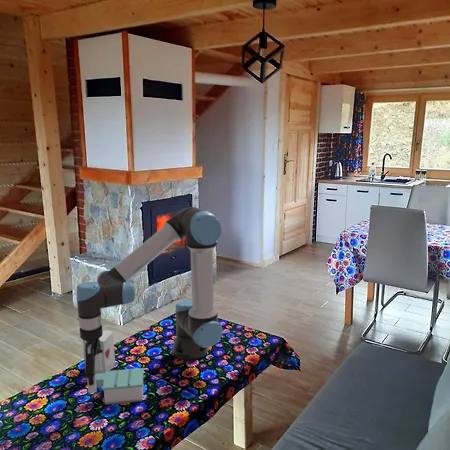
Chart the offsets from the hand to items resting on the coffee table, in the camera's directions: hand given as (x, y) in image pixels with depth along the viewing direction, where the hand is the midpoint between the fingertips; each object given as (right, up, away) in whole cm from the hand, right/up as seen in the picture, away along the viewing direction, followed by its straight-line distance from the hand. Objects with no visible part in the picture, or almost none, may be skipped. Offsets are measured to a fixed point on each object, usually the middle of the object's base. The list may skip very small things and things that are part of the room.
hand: (95, 380), depth 152 cm
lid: (+7, -1, +2) cm, 8 cm away
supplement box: (-4, -3, +20) cm, 20 cm away
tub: (+10, -6, +3) cm, 12 cm away
